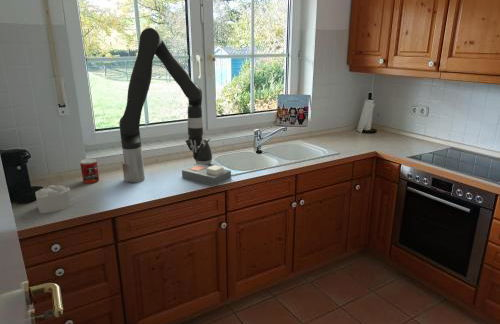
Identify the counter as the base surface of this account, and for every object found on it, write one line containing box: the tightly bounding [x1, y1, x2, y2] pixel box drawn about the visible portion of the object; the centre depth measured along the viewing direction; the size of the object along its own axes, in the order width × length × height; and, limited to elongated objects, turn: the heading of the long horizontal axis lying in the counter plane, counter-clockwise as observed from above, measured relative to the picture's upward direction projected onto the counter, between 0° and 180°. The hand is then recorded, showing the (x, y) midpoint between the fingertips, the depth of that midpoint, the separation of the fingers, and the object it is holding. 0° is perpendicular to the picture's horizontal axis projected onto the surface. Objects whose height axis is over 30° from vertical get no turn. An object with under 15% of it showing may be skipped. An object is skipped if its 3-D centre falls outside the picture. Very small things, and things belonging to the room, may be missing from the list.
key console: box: [181, 163, 232, 186], centre depth 189 cm, size 13×22×4 cm, turn 55°
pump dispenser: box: [194, 138, 213, 166], centre depth 209 cm, size 10×10×15 cm
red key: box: [190, 166, 205, 171], centre depth 193 cm, size 6×6×4 cm
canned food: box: [79, 158, 100, 185], centre depth 185 cm, size 8×8×11 cm
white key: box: [207, 164, 224, 176], centre depth 185 cm, size 6×6×4 cm
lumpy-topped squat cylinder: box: [35, 184, 74, 214], centre depth 156 cm, size 10×13×9 cm
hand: (196, 159), depth 190 cm, fingers closed
